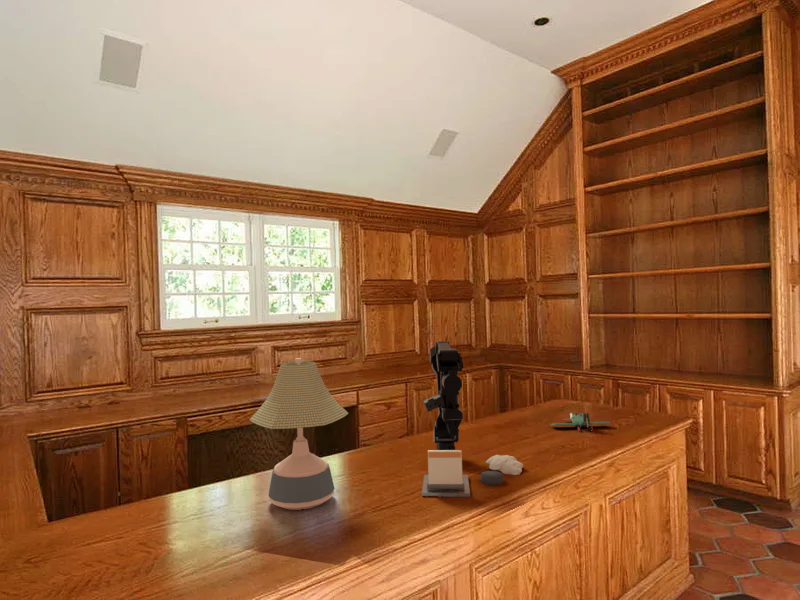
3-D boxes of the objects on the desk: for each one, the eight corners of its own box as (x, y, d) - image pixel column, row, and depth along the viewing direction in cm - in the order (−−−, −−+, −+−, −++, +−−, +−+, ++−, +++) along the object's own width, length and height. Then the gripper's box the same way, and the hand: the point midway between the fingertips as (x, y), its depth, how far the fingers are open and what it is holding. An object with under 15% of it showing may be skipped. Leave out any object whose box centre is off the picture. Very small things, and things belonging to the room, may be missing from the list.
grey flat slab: (424, 477, 162) (424, 474, 162) (467, 477, 161) (467, 474, 161) (421, 496, 146) (421, 492, 146) (470, 496, 145) (470, 493, 145)
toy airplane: (618, 431, 209) (615, 405, 212) (558, 433, 210) (556, 406, 212) (599, 431, 231) (596, 407, 234) (544, 432, 231) (542, 408, 234)
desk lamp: (233, 515, 136) (229, 363, 137) (290, 480, 163) (287, 353, 164) (316, 527, 128) (312, 364, 128) (362, 488, 154) (358, 353, 155)
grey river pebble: (476, 482, 157) (475, 474, 157) (490, 476, 162) (490, 469, 162) (493, 487, 152) (493, 480, 152) (508, 482, 156) (507, 474, 156)
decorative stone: (479, 466, 173) (508, 483, 160) (478, 456, 173) (507, 472, 159) (504, 456, 178) (533, 472, 165) (503, 446, 178) (532, 462, 164)
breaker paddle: (427, 487, 150) (426, 449, 150) (464, 488, 149) (463, 449, 149) (427, 490, 148) (426, 451, 148) (464, 490, 147) (463, 451, 147)
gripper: (423, 383, 173) (424, 428, 173) (426, 393, 155) (427, 444, 155) (455, 382, 174) (456, 427, 173) (462, 392, 155) (463, 442, 155)
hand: (450, 435), depth 164 cm, fingers open, 9 cm apart
